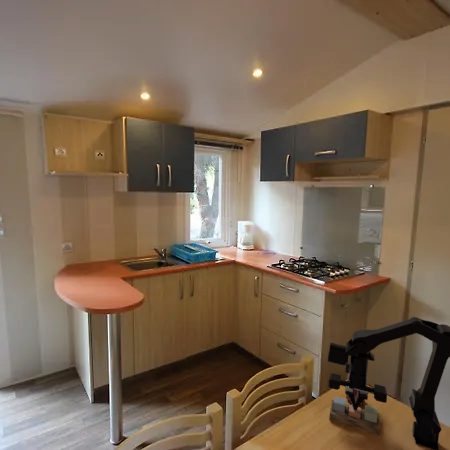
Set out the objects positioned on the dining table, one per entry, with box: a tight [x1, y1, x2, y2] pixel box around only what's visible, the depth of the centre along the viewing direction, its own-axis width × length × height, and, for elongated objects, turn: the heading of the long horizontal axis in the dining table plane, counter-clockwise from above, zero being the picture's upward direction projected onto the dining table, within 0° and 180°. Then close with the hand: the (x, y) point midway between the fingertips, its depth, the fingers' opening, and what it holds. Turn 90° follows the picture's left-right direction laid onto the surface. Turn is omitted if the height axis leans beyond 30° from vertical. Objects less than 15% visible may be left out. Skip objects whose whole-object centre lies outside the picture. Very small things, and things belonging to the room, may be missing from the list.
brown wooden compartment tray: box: [328, 399, 381, 436], centre depth 113 cm, size 16×8×2 cm, turn 66°
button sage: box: [364, 404, 378, 423], centre depth 111 cm, size 4×4×3 cm
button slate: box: [333, 395, 347, 413], centre depth 115 cm, size 4×4×3 cm
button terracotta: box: [348, 403, 361, 419], centre depth 113 cm, size 4×4×3 cm
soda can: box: [345, 373, 368, 406], centre depth 123 cm, size 7×7×12 cm
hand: (355, 409), depth 113 cm, fingers closed, pressing on button terracotta
